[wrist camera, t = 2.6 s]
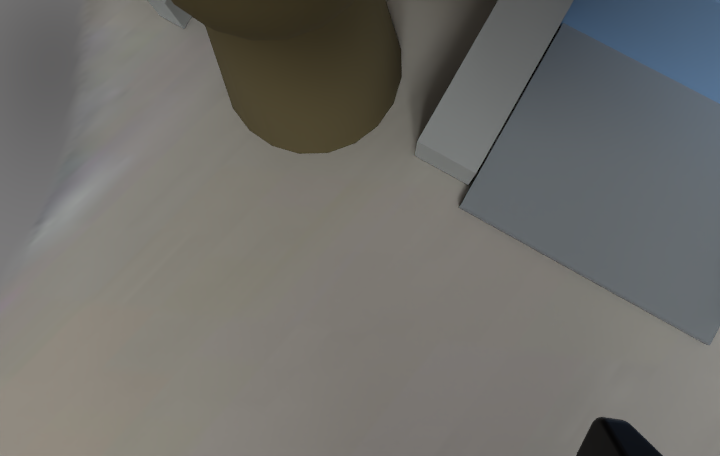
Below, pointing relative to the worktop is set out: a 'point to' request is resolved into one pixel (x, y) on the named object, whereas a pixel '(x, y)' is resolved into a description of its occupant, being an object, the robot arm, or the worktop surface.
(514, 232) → the shallow tray
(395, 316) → the worktop surface
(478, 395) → the worktop surface
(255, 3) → the cork
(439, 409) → the worktop surface
